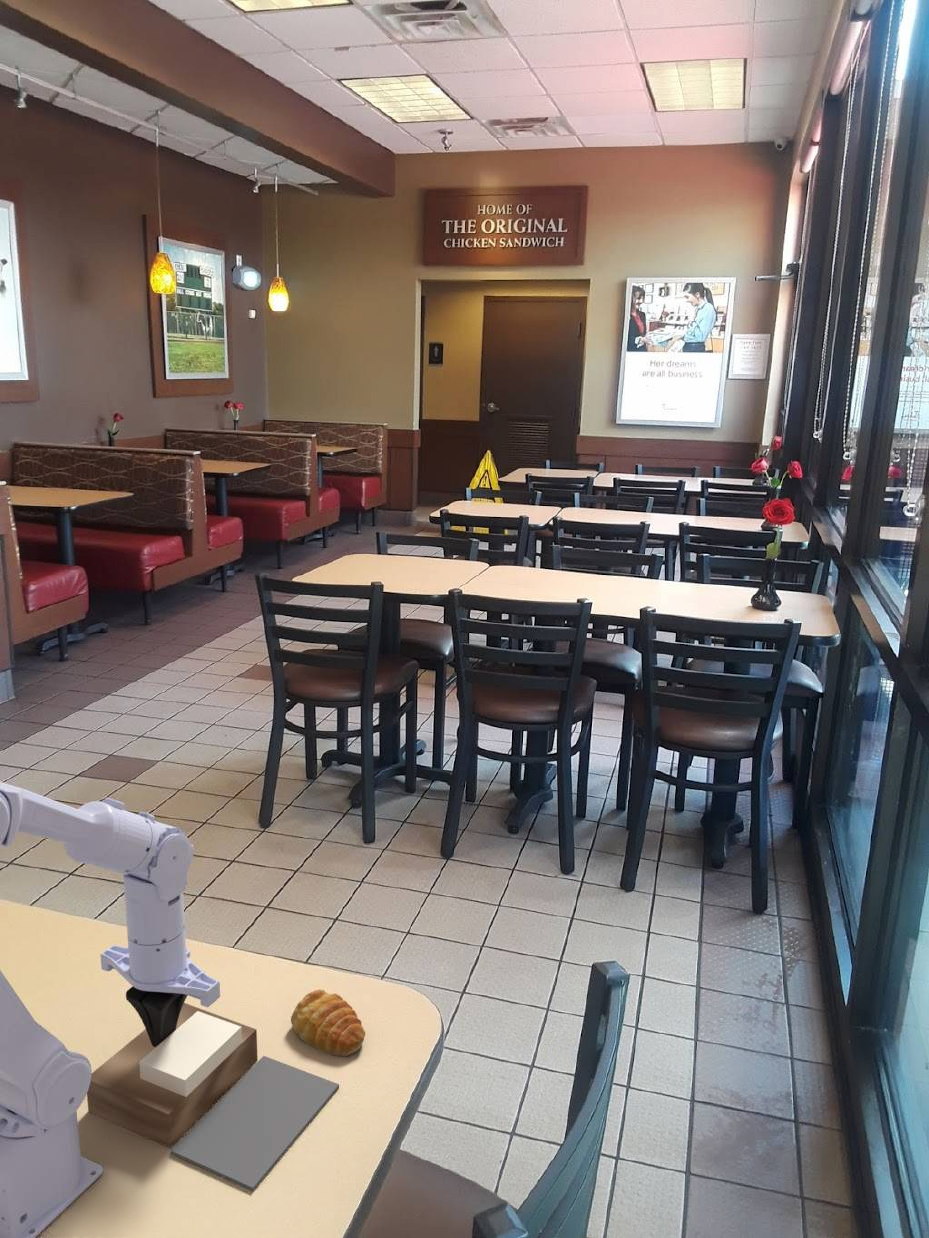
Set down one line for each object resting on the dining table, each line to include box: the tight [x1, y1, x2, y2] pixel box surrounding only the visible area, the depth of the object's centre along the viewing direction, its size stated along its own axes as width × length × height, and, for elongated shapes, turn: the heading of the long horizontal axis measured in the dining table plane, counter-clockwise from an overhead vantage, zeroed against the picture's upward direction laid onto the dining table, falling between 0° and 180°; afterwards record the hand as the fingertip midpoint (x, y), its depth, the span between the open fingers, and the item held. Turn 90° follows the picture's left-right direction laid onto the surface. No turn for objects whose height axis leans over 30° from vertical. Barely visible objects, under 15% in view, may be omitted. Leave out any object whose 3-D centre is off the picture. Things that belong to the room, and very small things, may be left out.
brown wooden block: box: [86, 1002, 259, 1149], centre depth 100 cm, size 14×11×4 cm
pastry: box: [290, 989, 366, 1057], centre depth 108 cm, size 9×7×4 cm
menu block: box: [139, 1011, 242, 1097], centre depth 98 cm, size 9×6×2 cm, turn 156°
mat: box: [170, 1055, 340, 1192], centre depth 96 cm, size 15×10×1 cm, turn 155°
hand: (163, 1042), depth 100 cm, fingers closed
